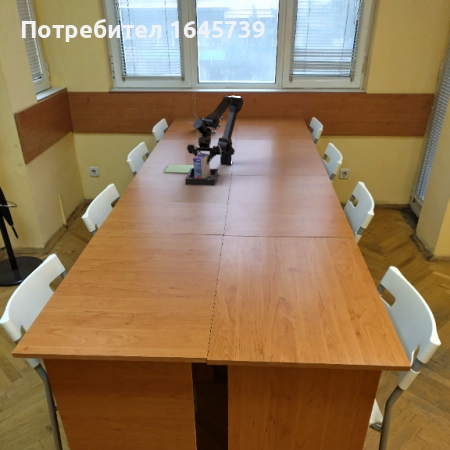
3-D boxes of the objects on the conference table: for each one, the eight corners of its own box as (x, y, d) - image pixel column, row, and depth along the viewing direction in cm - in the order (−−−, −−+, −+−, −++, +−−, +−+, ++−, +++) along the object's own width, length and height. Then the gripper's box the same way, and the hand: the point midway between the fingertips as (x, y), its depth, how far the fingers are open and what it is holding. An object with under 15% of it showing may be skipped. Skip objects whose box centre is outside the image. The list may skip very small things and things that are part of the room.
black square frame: (218, 174, 262) (218, 168, 260) (214, 185, 247) (214, 179, 245) (190, 173, 263) (190, 167, 261) (185, 184, 249) (185, 178, 247)
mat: (201, 166, 275) (201, 165, 275) (197, 173, 263) (197, 172, 263) (168, 165, 277) (168, 164, 276) (164, 172, 265) (164, 171, 265)
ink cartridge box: (202, 174, 260) (200, 148, 251) (210, 175, 258) (209, 149, 249) (194, 179, 252) (192, 153, 244) (202, 180, 250) (201, 154, 242)
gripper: (186, 129, 247) (182, 155, 245) (220, 130, 244) (216, 157, 242) (190, 140, 258) (187, 165, 255) (222, 141, 255) (219, 167, 253)
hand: (202, 163), depth 251 cm, fingers closed on ink cartridge box, 6 cm apart
